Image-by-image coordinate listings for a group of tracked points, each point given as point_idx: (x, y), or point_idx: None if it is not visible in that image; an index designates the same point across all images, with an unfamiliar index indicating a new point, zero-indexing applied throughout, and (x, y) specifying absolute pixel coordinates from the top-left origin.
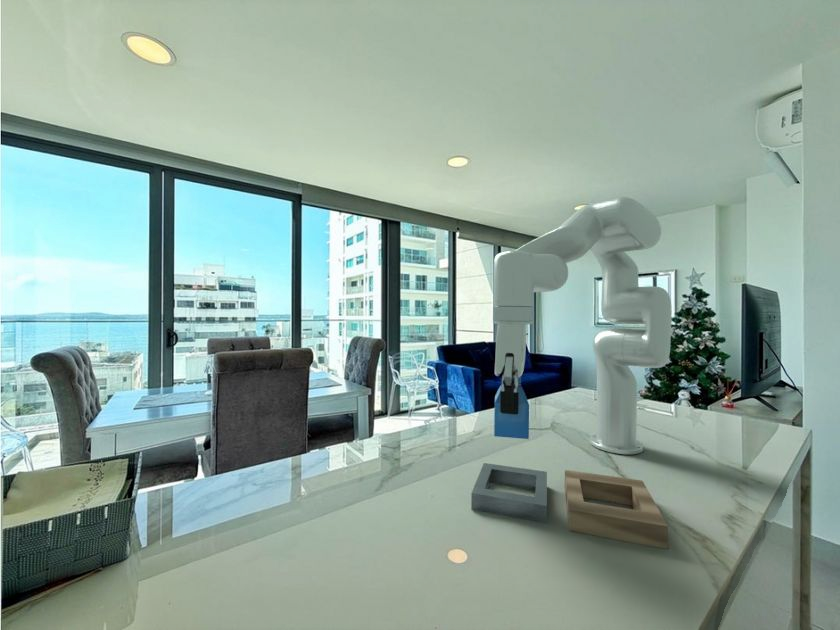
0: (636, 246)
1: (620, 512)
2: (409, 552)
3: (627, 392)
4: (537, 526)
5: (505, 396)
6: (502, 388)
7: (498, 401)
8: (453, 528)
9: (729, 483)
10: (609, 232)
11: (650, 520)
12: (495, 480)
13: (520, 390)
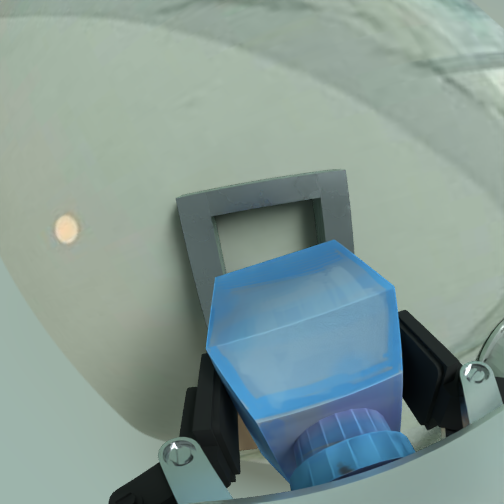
0: None
1: (242, 420)
2: (41, 169)
3: None
4: (195, 312)
5: (182, 433)
6: (161, 461)
7: (217, 370)
8: (112, 193)
9: None
10: None
11: (240, 441)
12: (314, 204)
13: (286, 478)
